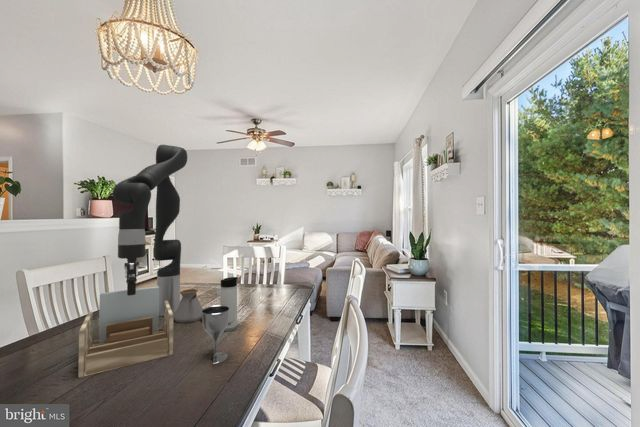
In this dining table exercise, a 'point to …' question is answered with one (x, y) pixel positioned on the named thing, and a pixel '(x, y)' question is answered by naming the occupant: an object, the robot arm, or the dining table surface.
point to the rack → (123, 347)
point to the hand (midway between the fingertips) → (131, 292)
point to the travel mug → (229, 300)
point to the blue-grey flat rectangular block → (128, 308)
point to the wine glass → (216, 327)
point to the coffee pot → (188, 307)
